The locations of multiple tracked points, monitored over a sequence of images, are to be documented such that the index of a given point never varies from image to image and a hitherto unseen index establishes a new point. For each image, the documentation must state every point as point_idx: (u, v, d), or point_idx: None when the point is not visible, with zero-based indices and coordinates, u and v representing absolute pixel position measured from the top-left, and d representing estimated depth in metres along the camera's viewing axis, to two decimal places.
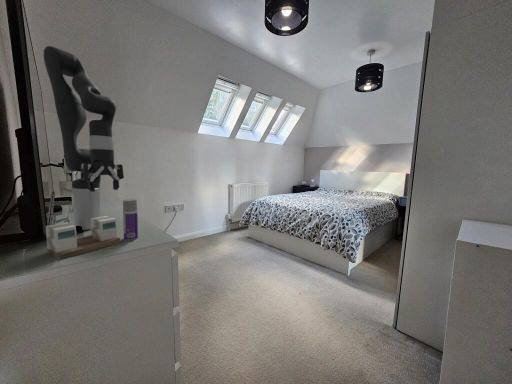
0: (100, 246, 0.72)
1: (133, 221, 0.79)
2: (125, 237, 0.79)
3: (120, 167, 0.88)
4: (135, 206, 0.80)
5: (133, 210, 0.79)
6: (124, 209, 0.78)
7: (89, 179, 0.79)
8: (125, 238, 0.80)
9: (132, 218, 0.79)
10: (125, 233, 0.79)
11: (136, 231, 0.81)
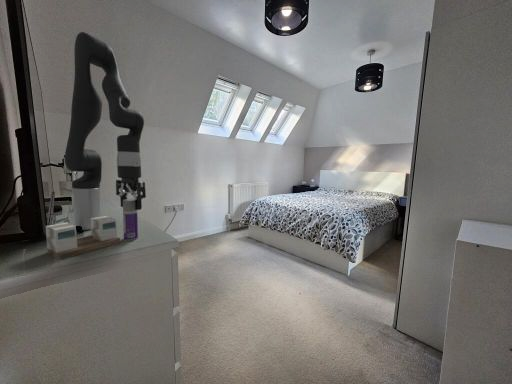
0: (100, 246, 0.72)
1: (133, 221, 0.79)
2: (125, 237, 0.79)
3: None
4: None
5: (133, 210, 0.79)
6: (124, 209, 0.78)
7: None
8: (125, 238, 0.80)
9: (132, 218, 0.79)
10: (125, 233, 0.79)
11: (136, 231, 0.81)
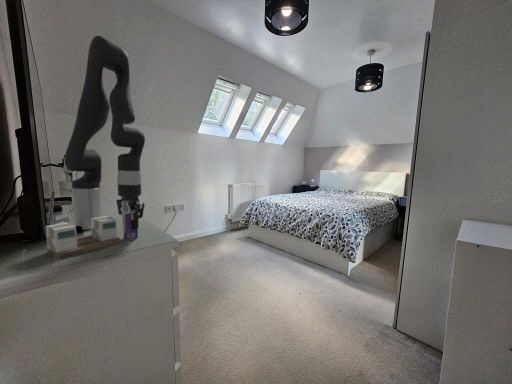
0: (100, 246, 0.72)
1: None
2: (125, 237, 0.79)
3: None
4: None
5: (133, 210, 0.79)
6: (124, 209, 0.78)
7: None
8: (125, 238, 0.80)
9: None
10: (125, 233, 0.79)
11: (136, 231, 0.81)
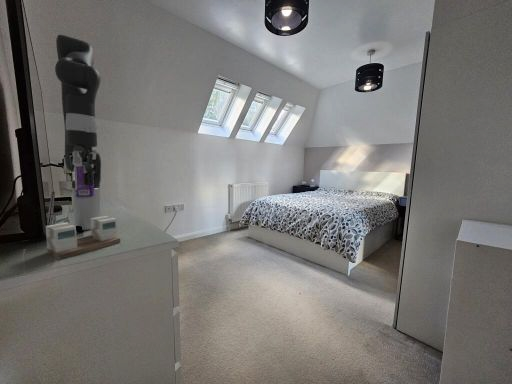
0: (100, 246, 0.72)
1: None
2: (77, 194, 0.68)
3: None
4: None
5: (86, 162, 0.68)
6: (75, 161, 0.67)
7: None
8: (77, 196, 0.68)
9: None
10: (77, 190, 0.68)
11: (91, 188, 0.70)
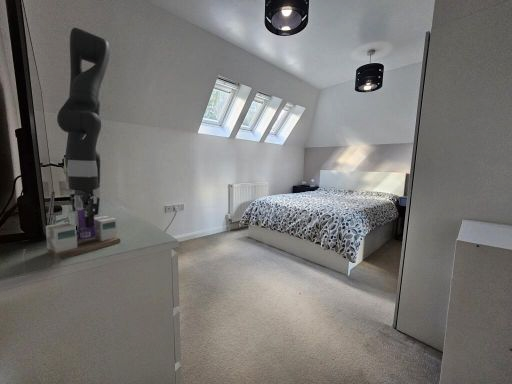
0: (100, 246, 0.72)
1: None
2: (78, 237, 0.69)
3: None
4: None
5: (87, 206, 0.69)
6: (76, 205, 0.68)
7: None
8: (78, 238, 0.69)
9: None
10: (78, 232, 0.69)
11: (92, 230, 0.71)
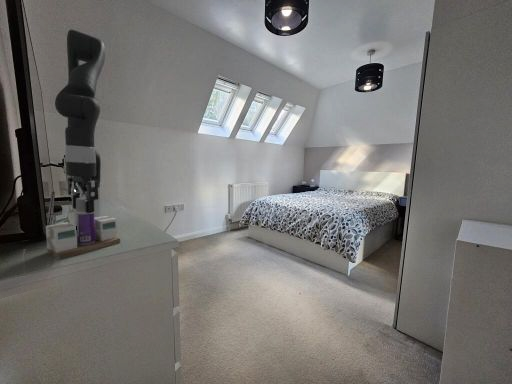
0: (100, 246, 0.72)
1: (87, 223, 0.70)
2: (78, 241, 0.70)
3: None
4: None
5: None
6: (77, 209, 0.69)
7: None
8: (78, 242, 0.70)
9: (86, 219, 0.69)
10: (78, 236, 0.69)
11: (92, 234, 0.71)
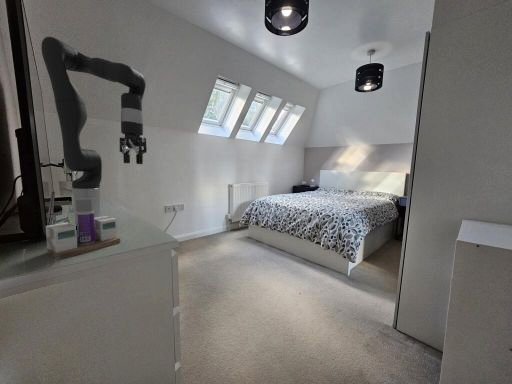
0: (100, 246, 0.72)
1: (87, 223, 0.70)
2: (78, 241, 0.70)
3: None
4: (90, 206, 0.70)
5: (87, 210, 0.69)
6: (76, 209, 0.68)
7: None
8: (78, 242, 0.70)
9: (86, 219, 0.69)
10: (78, 237, 0.69)
11: (92, 234, 0.71)
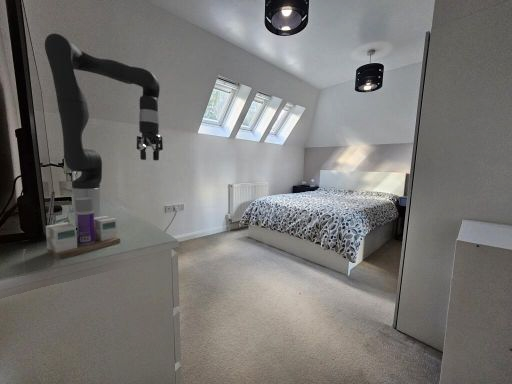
0: (100, 246, 0.72)
1: (87, 223, 0.70)
2: (78, 241, 0.70)
3: None
4: (90, 206, 0.70)
5: (87, 210, 0.69)
6: (76, 209, 0.68)
7: None
8: (78, 242, 0.70)
9: (86, 219, 0.69)
10: (78, 237, 0.69)
11: (92, 234, 0.71)
